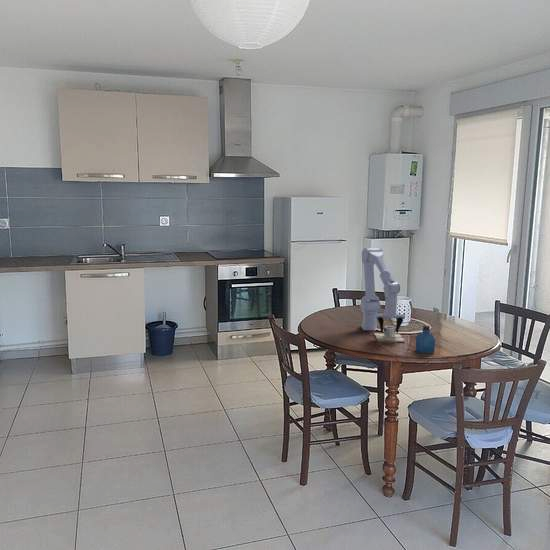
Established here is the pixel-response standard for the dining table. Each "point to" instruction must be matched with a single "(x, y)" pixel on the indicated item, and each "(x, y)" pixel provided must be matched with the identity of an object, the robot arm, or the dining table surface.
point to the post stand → (381, 338)
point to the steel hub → (389, 332)
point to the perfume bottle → (425, 341)
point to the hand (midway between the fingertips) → (389, 332)
